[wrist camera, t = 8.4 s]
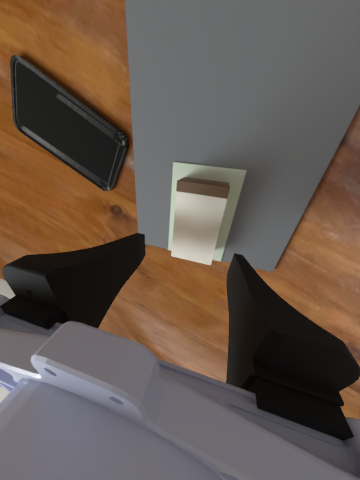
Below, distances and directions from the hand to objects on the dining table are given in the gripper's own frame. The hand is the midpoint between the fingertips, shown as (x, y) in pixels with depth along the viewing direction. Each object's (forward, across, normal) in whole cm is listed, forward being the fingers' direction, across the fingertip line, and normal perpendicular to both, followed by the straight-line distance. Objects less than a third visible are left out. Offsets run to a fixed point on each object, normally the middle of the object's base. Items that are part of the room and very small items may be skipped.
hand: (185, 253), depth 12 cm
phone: (+10, +18, -8) cm, 22 cm away
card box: (+9, 0, 0) cm, 9 cm away
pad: (+9, 0, 0) cm, 9 cm away
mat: (+9, -1, -6) cm, 11 cm away
